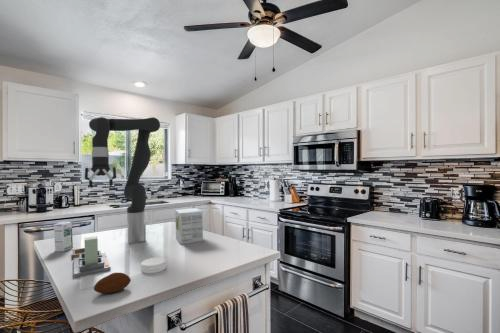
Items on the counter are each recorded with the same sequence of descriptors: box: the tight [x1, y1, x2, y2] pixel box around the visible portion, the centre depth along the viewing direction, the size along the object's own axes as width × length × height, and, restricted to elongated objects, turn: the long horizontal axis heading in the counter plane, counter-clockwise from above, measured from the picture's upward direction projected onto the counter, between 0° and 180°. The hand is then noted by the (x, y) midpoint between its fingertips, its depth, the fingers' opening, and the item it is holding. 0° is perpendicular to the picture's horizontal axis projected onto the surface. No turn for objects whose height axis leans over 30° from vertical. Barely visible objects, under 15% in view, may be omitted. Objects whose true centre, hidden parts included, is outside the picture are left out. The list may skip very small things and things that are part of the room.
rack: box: [73, 249, 112, 278], centre depth 119 cm, size 13×22×4 cm, turn 33°
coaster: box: [140, 256, 167, 274], centre depth 114 cm, size 10×10×4 cm
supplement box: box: [174, 207, 204, 245], centre depth 157 cm, size 13×13×18 cm
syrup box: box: [53, 221, 74, 252], centre depth 143 cm, size 6×6×14 cm
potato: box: [93, 272, 132, 295], centre depth 94 cm, size 6×12×6 cm, turn 123°
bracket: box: [72, 247, 85, 260], centre depth 134 cm, size 9×10×2 cm
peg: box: [83, 236, 99, 265], centre depth 114 cm, size 5×5×12 cm
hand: (101, 187), depth 140 cm, fingers open, 8 cm apart
